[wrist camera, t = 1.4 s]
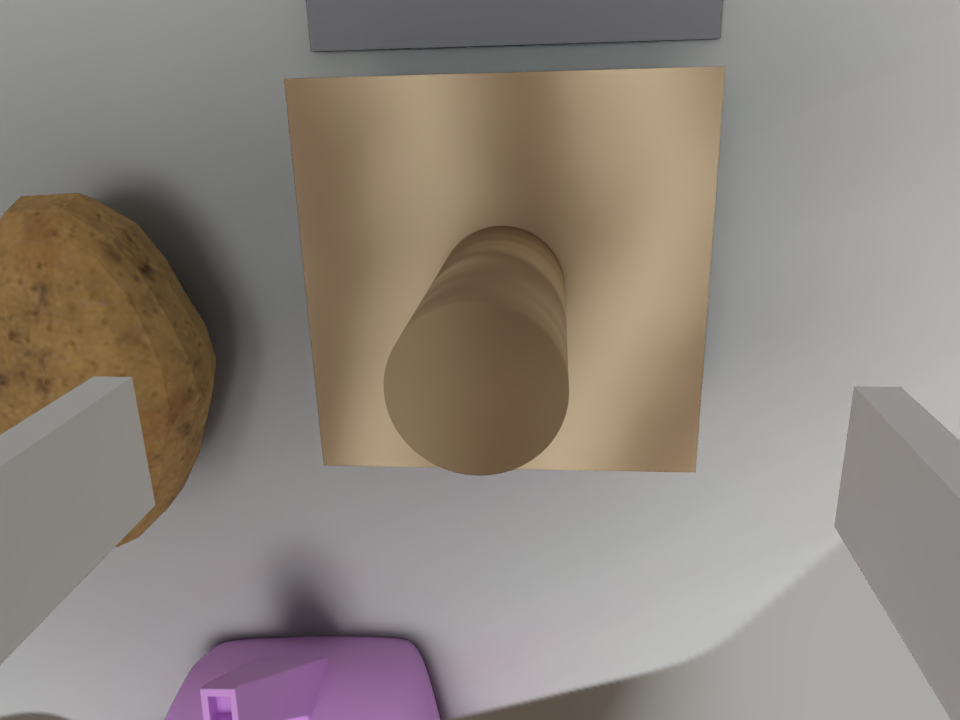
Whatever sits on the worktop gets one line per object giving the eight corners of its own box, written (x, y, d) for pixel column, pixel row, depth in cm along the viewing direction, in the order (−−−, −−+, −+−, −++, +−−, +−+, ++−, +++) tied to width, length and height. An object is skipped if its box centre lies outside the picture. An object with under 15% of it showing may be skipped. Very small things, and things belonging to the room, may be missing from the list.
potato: (246, 187, 32) (152, 220, 25) (251, 489, 37) (174, 594, 29) (17, 164, 33) (-143, 189, 25) (52, 465, 38) (-74, 561, 30)
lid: (331, 452, 29) (223, 630, 20) (294, 78, 25) (133, 78, 15) (690, 459, 28) (759, 652, 18) (718, 66, 23) (827, 58, 14)
